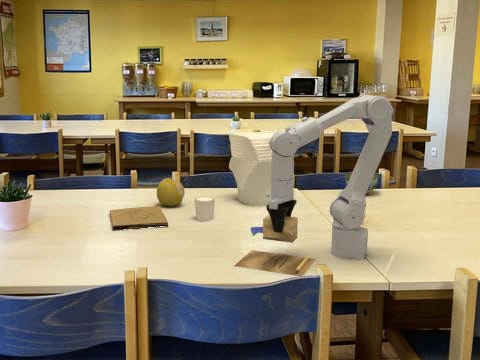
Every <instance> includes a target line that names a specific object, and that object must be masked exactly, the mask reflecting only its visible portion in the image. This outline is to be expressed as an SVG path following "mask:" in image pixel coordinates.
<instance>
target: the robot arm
mask: <svg viewBox="0 0 480 360" xmlns="http://www.w3.org/2000/svg"><path fill="white" fill-rule="evenodd" d="M394 110H395V109H394V108H393V106H392V104H391V102H390V100H389V99H388V98H387V97H386V96H382V95H373V94H372V95H371V94H368V93H363V94H360V95H359V96H357V97H354V98H350V99H349V100H348V101H346V102H344V103H343V104H341V105H339V106H337V107H336V108H334V109H332V110H330V111H329V112H327V113H325V114H323V115H322V116H320V117H318V118H316V117H312V116H310V117H307V116H304V117H302V118H301V121H300V122H298V123H296V124H294V125H292V126H285V127H284V129H285V131H284V130H279V131H276V132H273V133H274V134H273V136H272V137H271V139H270V141H269V146H270V148H271V150H272V164H271V193H268V194H267V197H270V201H269V204H266V207H265V208H266V210H267V213H268V215H270V217H271V221H272V226H273V230H274V232H278V233H282V231H283V227H284V221H285V217H286V216H288V217H292V213H293V210H294V208H295V206H296V205H297V200H296V199H294V198H295V197H294V196H295V194H294V192H295V191H294V178H295V177H294V173H295V161H294V158H295V154H296V153H297V151H298V149H300V148H301V147H304V146H305V145H308V144H309V143H311V142H314V141H316V140H318V139H320V138H321V136H322V135H323V133H324V130H328V129H329V128H332V127H334V126H336V125H338V124H339V123H342V122H345V121H346V120H348V119H351V118H352V119H353V118H354V119H361V121H362V122H363V123H364V125H365V126H366V129H367V132H368V136H367V138H366V140H365V143H364V144H363V147H362V150H361V152H360V154H359V156H358V159H357V161H356V163H355V166H354V168H353V170H352V171H353V173H352V175H351V177H350V179H349V182H348V184H346V186H345V188H344V189H342V190H341V191H340V192H339V193H338V195H337V197H336V198H335V199H334V200H332V202H331V204H330V207H329V214H330V216H331V217H332V219H333V220H332V227H331V228H332V229H331V246H330V247H331V249H330V252H331V255H333V256H334V257H337V258H342V259H356V260H364V259H365V257H366V256H367V255H368V238H369V230H368V228H366V227H362V224H363V223H364V220H365V211H366V208H367V201H366V195H365V194H366V192H367V190H368V188H369V185H370V183H371V181H372V178H373V176H374V174H375V173H376V172H377V169H378V166H379V165H380V162H381V161H382V157H383V155H384V153H385V151H386V148H387V146H388V144H389V142H390V139H391V138H392V133H393V119H392V118H393V117H392V116H393V114H394Z"/></svg>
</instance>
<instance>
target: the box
mask: <svg viewBox="0 0 480 360" xmlns="http://www.w3.org/2000/svg"><path fill="white" fill-rule="evenodd" d="M109 215H110V223H111V229H112V231H113V232H117V231H120V230H121V231H125V230H124V229H134V230H141V229H140V228H148V227H155V228H159V227H160V226H167V227H166V228H169V221H168V220H167V217H166V216H165V214H164V212H163V210H162V208H161V206H160V205H157V206H156V205H154V206H153V205H151V206H139V207H137V206H136V207H127V208H126V207H124V208H118V209H110V210H109ZM156 226H157V227H156ZM158 226H159V227H158Z"/></svg>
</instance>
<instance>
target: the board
mask: <svg viewBox="0 0 480 360" xmlns="http://www.w3.org/2000/svg"><path fill="white" fill-rule="evenodd" d="M305 258H306V256H305V257H304V256H303V257H302V256H297V255H296V256H295V255H290V254H282V253H275V252H268V251H261V250H254V249H252V250H250V251H249V252H248V253H247V254H246V255H244V256H243V257H242V258H241V259H240V260H239V261H238V262H237V263H235V264H234V265H233V266H234V267H238V268H243V269H244V268H245V269H250V270H257V271H262V272H263V271H264V272H270V273H277V274H283V275H290V276H297V277H302V276H303V277H304V276H305V274H306V273H307V271H308V270H309V269H310V268H311V267H312V266H313V264H314V263H315V261H316V260H317V258H312V257H310V259H309V260H308V261H307V263H306V264H305V265H304V266H303V268H302V269H301V270H300V271H299V272H298V273H295V270H296V269H297V267H298V266H299V265H300V264H301V263H302V261H303V260H304V259H305Z"/></svg>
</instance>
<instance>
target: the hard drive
mask: <svg viewBox="0 0 480 360" xmlns="http://www.w3.org/2000/svg"><path fill="white" fill-rule="evenodd" d="M250 231H251V234H252V237H255V236H256V235H257V234H259V233H260V234H263V226H251V227H250Z"/></svg>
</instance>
